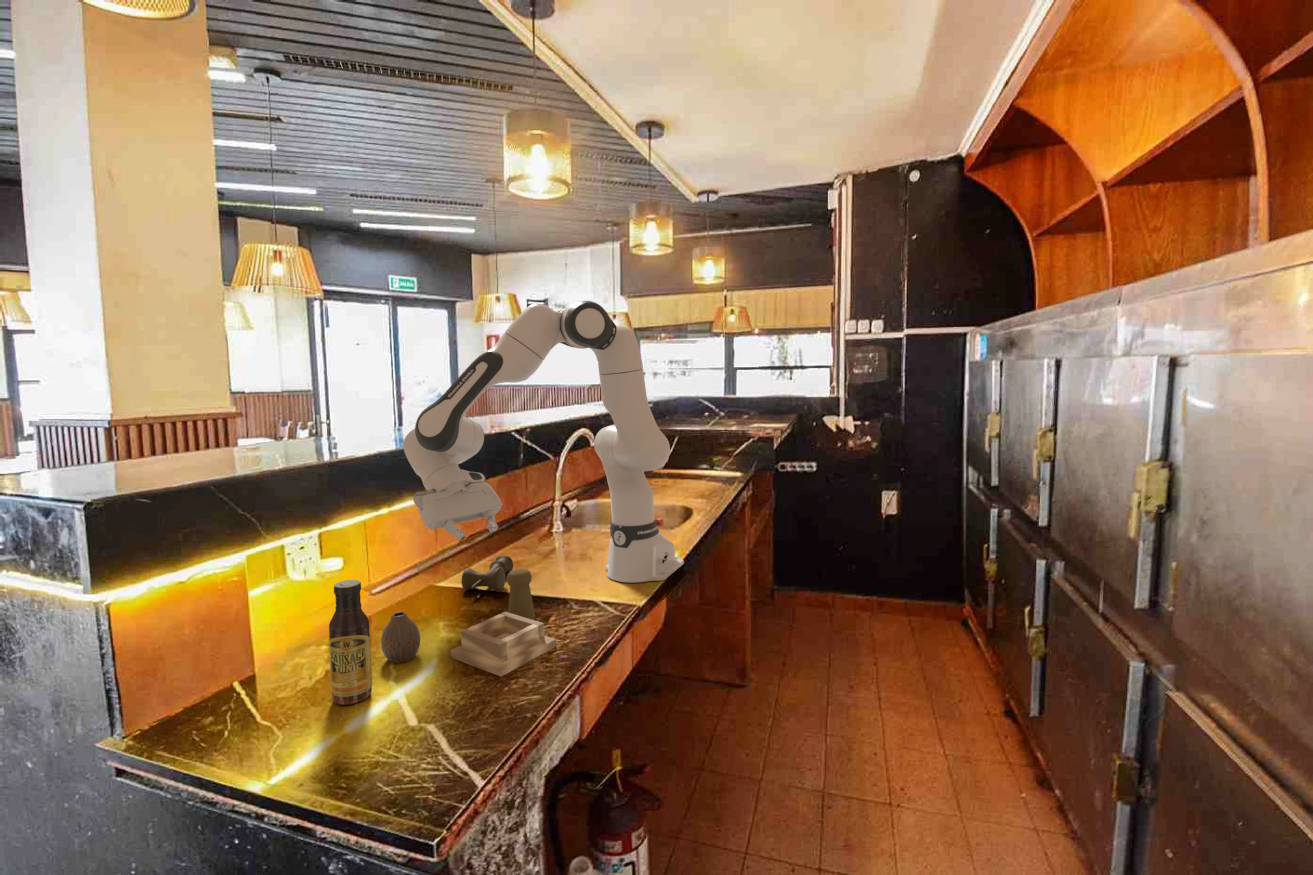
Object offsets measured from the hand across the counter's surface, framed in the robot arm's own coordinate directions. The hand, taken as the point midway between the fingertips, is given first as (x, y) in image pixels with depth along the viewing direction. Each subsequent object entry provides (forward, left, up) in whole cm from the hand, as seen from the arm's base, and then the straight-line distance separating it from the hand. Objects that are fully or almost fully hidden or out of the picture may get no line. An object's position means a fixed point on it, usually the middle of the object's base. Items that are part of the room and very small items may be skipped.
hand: (479, 534), depth 140 cm
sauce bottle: (+37, +12, -18) cm, 43 cm away
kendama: (-12, -12, -18) cm, 25 cm away
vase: (+24, +6, -18) cm, 31 cm away
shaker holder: (+12, +21, -18) cm, 30 cm away
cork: (-1, +12, -18) cm, 21 cm away
